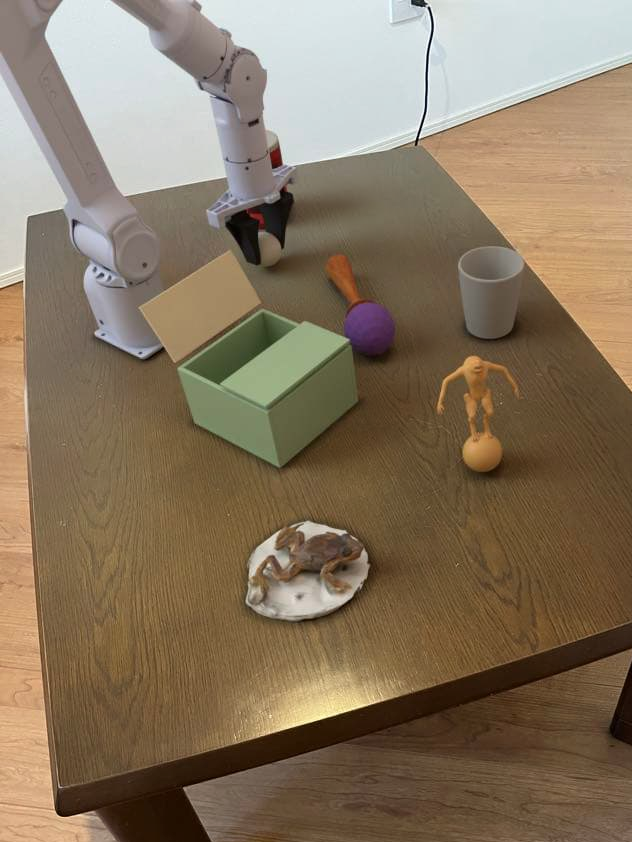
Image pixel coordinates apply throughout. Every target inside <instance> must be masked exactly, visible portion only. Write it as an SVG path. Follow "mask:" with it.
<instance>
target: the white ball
mask: <svg viewBox="0 0 632 842" xmlns="http://www.w3.org/2000/svg"><path fill="white" fill-rule="evenodd" d="M258 243H259V249H260V255H261V264H259V265H258V266H259V267H261V268H269V267H272V266H274V265H275V264H277V262H279V260H280V259H281V255H282V250H281V246H280V243H279V241H278V239H277V238H276V237H275V236H274V235H272V234H270V233H267V232H266V231H260V232H258Z"/></svg>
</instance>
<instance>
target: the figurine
mask: <svg viewBox="0 0 632 842" xmlns="http://www.w3.org/2000/svg"><path fill="white" fill-rule="evenodd" d="M489 371H491V372H497V373H499V372H501V373H503V375H504V377H505V378H506V380H507V382H508V383H509V384H510V386H511V387H512V388H513V389H514V395H515V396H516V399H520V391H519V388H518V386H517V384H516V382H515V380H514V378H512V376H511V374H510V373H509V371H508V369H507V367H506V366H503V365H500V364H495V363H492V362H490V361H487V360H482V359H481V358H480V357H479V356H478V355H470V356H468V357H467V358H465V360H464V362H463V364H462V365H461V366H460V367H458V368H457V369H456V371H453V372H452V373H451V374H449V375H448V376H446V377H445V378H444V379H443V380H442V384H441V390H440V394H439V398H438V402H437V407H436V408H437V411H436V413H438V415H439V416H440V415H443V410H444V411H445V407H444V406H443V402H444V400H445V397H446V392H447V389H448V384H450V383H451V382H454V381H456V380H457V379H459V378H461V377H464V380H465V382H466V384H467V386H468V389H469V392H466V393H464V394H463V400H464V403H465V409H466V413H467V415H468V418H467V421H468V423H469V426H470V428H469V429H470V432H471V436H469V437H468V438H467V439H466V441H464V443H463V447H462V458H463V461H464V463H465V464H466V466H467V467H468V468H469V469H471V470H472V471H475V472H478V473H487V472H490V471H492V470H494V469H496V467H498V465H499V464H500V462H501V460H502V456H503V448H502V447H503V446H502V445H501V442H500V441H499V439H498V438H497V437H496V436H494V435H493V434H492V432H491V430H490V425H489V420H490V419H492V417H493V415H494V413H495V412H494V405H493V402H492V397H491V393H492V391H491V389H490V388H486V389H484V387H485V384H486V381H487V379H488V374H489ZM478 401H480V402H481V407H482V409H483V410H484V411H485V413H484V414H483V429H484V432H477V428H476V425H475V422H476V418H477V417H476V416H477V411H478V403H477V402H478Z"/></svg>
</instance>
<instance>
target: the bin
mask: <svg viewBox="0 0 632 842" xmlns="http://www.w3.org/2000/svg"><path fill="white" fill-rule="evenodd" d="M349 343H350V339H347V338H345V336H343V335H340V334H338V333H335V332H333V331H331V330H328V329H326V328H323V327H321V326H319V325H316V324H314V323H312V322H310V321H309V322H308V321H306V320H303V321H302V322H301V323H298V322H296V321H294V320H292V319H289V318H286V317H284V316H282V315H279V314H277V313H274V312H272V311H269V310H268V309H265V308H261V309H259V310H258V311H257V312H255V313H253V314H252V315H251V316H249V317H248V318H246V319H245V320H244V321H242V322H241V323H239V324H238V325H237V326H235V327H234V328H233V329H231V330H229V331H228V332H227V333H225V334H223V336H221V337H220V338H218V339H216V340H215V341H214V342H212V343H211V344H210V345H208V346H207V347H205V348H204V349H202V350H201V351H200V352H198V353H197V354H196V355H194V356H193V357H191V358H190V359H188V360H187V361H185V362H184V363H183V364H181V365H180V366H178V367H177V368H176V369H177V373H178V376H179V379H180V382H181V385H182V389H183V391H184V395H185V397H186V401H187V405H188V407H189V410H190V413H191V417H192V419H193V423H194V424H195V425H197V426H199V427H201V428H203V429H205V430H207V431H209V432H211V433H213V434H214V435H216V436H218V437H220V438H222V439H224V440H226V441H228V442H230V443H232V444H233V445H236V446H237V447H239V448H241V449H243V450H245V451H247V452H249V453H251V454H252V455H254V456H256V457H258V458H260V459H261V460H264V461H265V462H268V463H269V464H271V465H273V466H275V467H277V468H279V469H281V468H282V467H284V466H285V465H286V464H287V463H288V462H290V461H291V460H292V459H293V458H294V457H295V456H296V455H298V454H299V453H300V452H301V451H302V450H303V449H305V447H307V446H308V445H309V444H311V443H312V442H313V441H314V440H315V439H317V437H319V436H320V435H321V434H322V433H323V432H324V431H326V430H327V429H328V428H329V427H330V426H331V425H333V424H334V423H335V422H336V421H337V420H339V418H341V417H342V416H343V415H344V414H346V412H348V411H349V410H350V409H351V408H352V407H353V406H354V405H356V404H357V403H358V402H359V396H358V389H357V380H356V371H355V363H354V354H353V349H352V346H351V345H349Z"/></svg>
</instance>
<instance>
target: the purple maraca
mask: <svg viewBox="0 0 632 842" xmlns="http://www.w3.org/2000/svg"><path fill="white" fill-rule="evenodd" d="M352 268H353V267H352V264H351V261H350V259H349V257H347V256H346V255H344V254H340V253H339V254H334V255H332V256H330V257H329V259H328V260H327V261H326V264H325V271H326V274H327V275H328V276H329V277H330V279H331V280H332V282H333V283H334V284H335V285H336V286H337V288H338V289H339V290H340V291H341V293H342V294H343V295H344V296H345V298H346V299H347V300H348V301H349V303H350V305H349V307H348V308H347V310H346V313H345V314H346V315H345V321H344V325H343V332H344V337H345V338H347V339H350V343H349V344H348V345H351V346H352V350H353V351H355V352H357V353H359V354H361V355H364V356H369V357H370V356H371V357H372V356H377V355H380V354H382V353H383V352H385V351H387V350H388V348H390V346H391V345H392V344H393V341H394V337H395V334H396V322H395V319H394V318H393V316H392V315H391V313H390V311H389V310H388V308H385V306H382V305H381V304H380V303H376V302H374V301H372V300H369V299H364V298H360V295H359V291H358V287H357V283H356V278H355V276H354V275H355V274H354V272H353V269H352Z"/></svg>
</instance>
